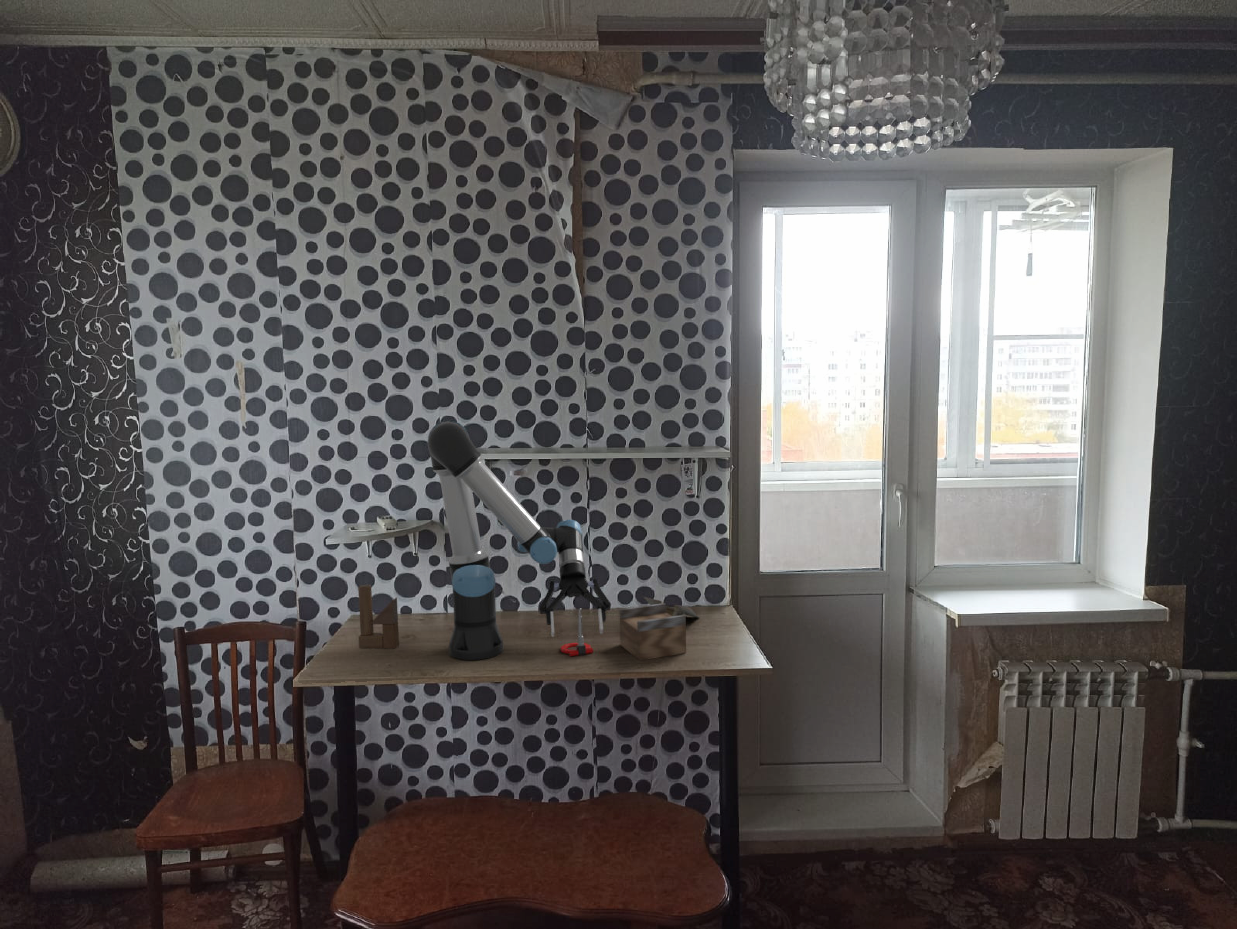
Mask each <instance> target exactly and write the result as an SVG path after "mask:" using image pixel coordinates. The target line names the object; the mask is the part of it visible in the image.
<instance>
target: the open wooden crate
mask: <svg viewBox="0 0 1237 929" xmlns="http://www.w3.org/2000/svg"><path fill="white" fill-rule="evenodd" d="M666 606H667V604H666V603H665V602H663V603H661V604H654V605H650V604H647V605H640V606H634V607H631V606H630V607H625V608H619V639H620V640H619V641H620V642H619V643H620V646H621V647H622V648H624V650H626V651H627V652H629V653H630V654H631V655H632V656H634V657H635V658H636V659H637V660H638V661H644V660H650V659H656V658H663V657H669V656H675V655H682V654H687V615H685V614H683V615H679V616H671V615H669V614H668V613H666Z"/></svg>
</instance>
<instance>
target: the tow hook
mask: <svg viewBox="0 0 1237 929" xmlns="http://www.w3.org/2000/svg"><path fill="white" fill-rule="evenodd" d="M577 611H578V614H577V631H578V632H577V633H578V635H577V642H571V643H566V644H563V645H561V646H560V651H561V652H562V653H565V654H568V655H569V657H574V656H583V655H588V654H593V653H594V649H593V647H592V646H591V644H588V643H585V641H584V635H583V632H584V631H583V616H582V608H577ZM574 647H576V649H570V648H574Z"/></svg>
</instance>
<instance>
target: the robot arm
mask: <svg viewBox="0 0 1237 929" xmlns="http://www.w3.org/2000/svg"><path fill="white" fill-rule="evenodd" d="M427 448H428V451H429V454H430V461H431V466H432V471H433V472H434V473H435V474H437V475H438V476H439V482H440V487H441V493H442V498H443V506H444V511H445V516H446V522H447V529H448V534H449V539H450V546H451V552H452V556H451V557H450V558H449V560H448V564H449V571H450V577H451V586H452V599H453V601H452V603H453V604H452V605H453V623H454V624H453V625H454V626H453V629H452V634H451V638H450V640H449V644H448V655H449V656H450V657H452V658H453V659H456V660H457V659H458V660H462V661H463V660H464V661H465V660H466V661H476V660H477V661H478V660H484V659H485V660H486V659H489V658H493V657H495V656H499V655H500V654H501V653H502V652H503V651H504V640H503V636H502V635H501V633H500V632H501V631H500V629H499V626H498V624H497V608H496V576H495V572H494V571H493V569H491V563H490V558H489V554H488V552H487V551H485V550H484V549H482V542H481V537H480V530H479V529H480V528H479V524H478V519H477V518H478V517H477V512H476V506H475V499H474V494H475V496H476V497H477V498H478V499H479V501H481V502H482V503H483V504H484V505H485V507H487V509H488V510H489V511H490V512H491V513H492V514H493V515H494V516H495V518H496V519H497V520H498V521H499V522H500V523H501V524H502V525H503V527H504V528H506V530H508V532H509V533H510V534H511V535H512V536H513V537H514V538H515V540H516V541H517V549H518V551H519V552H522V553H527V554H529V555H530V557H531V559H532V560H533V561H534V562H536V563H537V564H540V565H547V564H550V563H551V562H553V561H554V560H555V559H556V556H557V554H558V565H559V582H555V581H554V580H551V581H550V582H549V588H548V590H547V592H546V594H545V596H544V598H543V600H542V602H541V605H540V606H539V613H540V614H541V615H545V616H546V618H545V619H546V625H547V626H550V631H551V632H550V634H551V637H552V638H554V637H555V623H554V621H555V620H554V611H555V609H557V607H558V606H559V605H560V604H561V603H562V601H563V600H565V598H566V597H568V598H569V599H570V598H574V597H575V598H580V597H581V596H582V597H583V599H586V600H587V601H588V602H589V603H590V604H591V605H592V606H594V607H595V608H596V610H597V616H598V626H599V628H598V629H599V634H600V635H603V633H604V624H603V623H605V622H606V621H607V620H606V619H607V615H606V614H607V613H606V612H607V611H611V606H612V603H611V602H610V600H609V599H608V597H607V596H606V594H605V593H604V592H603V590H602V589H601V587H600V586H599V584H598V579H596V578H593V579H592V580H591V581H588V580H587V576H586V566H585V565H586V563H585V555H584V545H583V544H584V543H583V533H582V528H581V527H582V526H581V524H580V523H579V522H578V521H577V520H574V519H566V520H561V521H560V522H558V523H557V526H556V527H541V525H540V524H539V523H538V521H536V520H535V518H533V516H532V515H531V514H530V513H529V512H528V511H527V509H526V508H524V505H522V504H521V503H520V501H518V499H517V498H516V497H515V496H514V495H513V494H512V493H511V491H510V490H509V489H508V488H507V487H506V485H504V484H503V483H502V481H501V480H500V478H498V477H497V476H496V475H495V474H494V472H493V471H492V470H491V469H490V468H489V467H488V465H486V464H485V462H484V461H483V459H482V458H483V457H482V456H483V454H482V453H481V452H480V451H479V450H478V449H477V447H476V446H475V445H474V442H473V441H472V440H471V438H470V434H469V433H468V430H467V429H466V428H465V426H464V425H462V424H461V423H460V422H457V421H453V420H445V421H440V422H438V423H436V425H434V426H433V427H432V428H431V430H430V431H429V433H428V437H427ZM473 493H474V494H473ZM588 587H590V588H591V589H592V590H593V591H594V593H595V594H596V596H597V597H596V596H594V595H593V594H592V592H590V591H589V589H588ZM558 589H559V590H560V592H559V594H558V595H557V596H555V598H554V600H552V602H551V603H550V601H551V599H552V597H553V595H554V592H555V591H557V590H558ZM549 603H550V604H549Z"/></svg>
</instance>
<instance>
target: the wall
mask: <svg viewBox="0 0 1237 929" xmlns="http://www.w3.org/2000/svg"><path fill="white" fill-rule="evenodd" d="M643 598H644V599H645V601H646V602H647V603H648V605H654V604H661V603H664V602H663V601H662V600H658V599H655V598H650V597H645V596H643ZM666 613H668V614H669V615H671V616H679V615H685V616H689V617H693V618H697V619H700V617H699V615H697V614H696V613H695V611H694V610H693V609H692V608H691V607H687V606H683V605H680V604H674V606H667V605H666Z"/></svg>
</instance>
